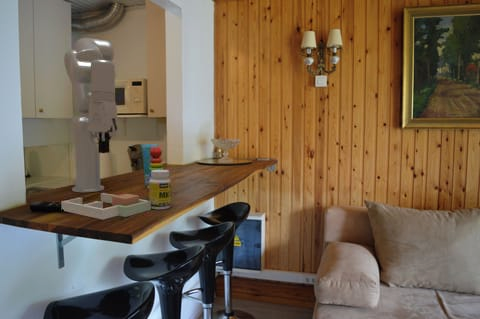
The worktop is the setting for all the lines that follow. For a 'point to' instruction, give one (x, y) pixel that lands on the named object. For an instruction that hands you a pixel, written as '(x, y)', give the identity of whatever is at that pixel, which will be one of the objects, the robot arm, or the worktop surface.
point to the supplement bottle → (160, 189)
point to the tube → (147, 160)
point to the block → (125, 200)
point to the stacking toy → (155, 161)
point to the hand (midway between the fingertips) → (104, 152)
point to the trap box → (100, 213)
